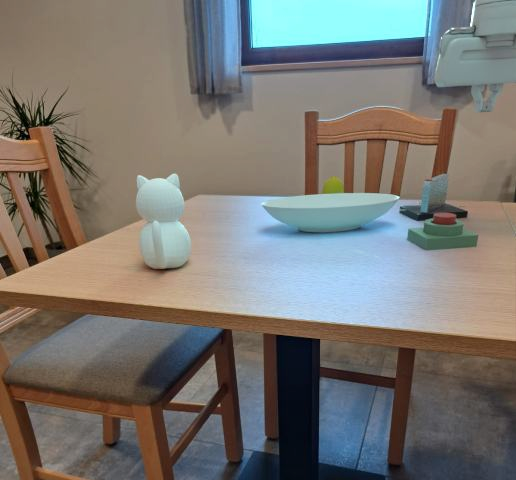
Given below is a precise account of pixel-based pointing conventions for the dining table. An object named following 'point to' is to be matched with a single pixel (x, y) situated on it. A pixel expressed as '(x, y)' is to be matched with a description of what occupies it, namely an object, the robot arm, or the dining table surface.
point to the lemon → (333, 186)
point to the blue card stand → (434, 193)
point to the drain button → (444, 218)
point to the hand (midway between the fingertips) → (483, 112)
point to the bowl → (330, 210)
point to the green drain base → (442, 236)
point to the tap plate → (416, 215)
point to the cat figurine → (162, 223)
